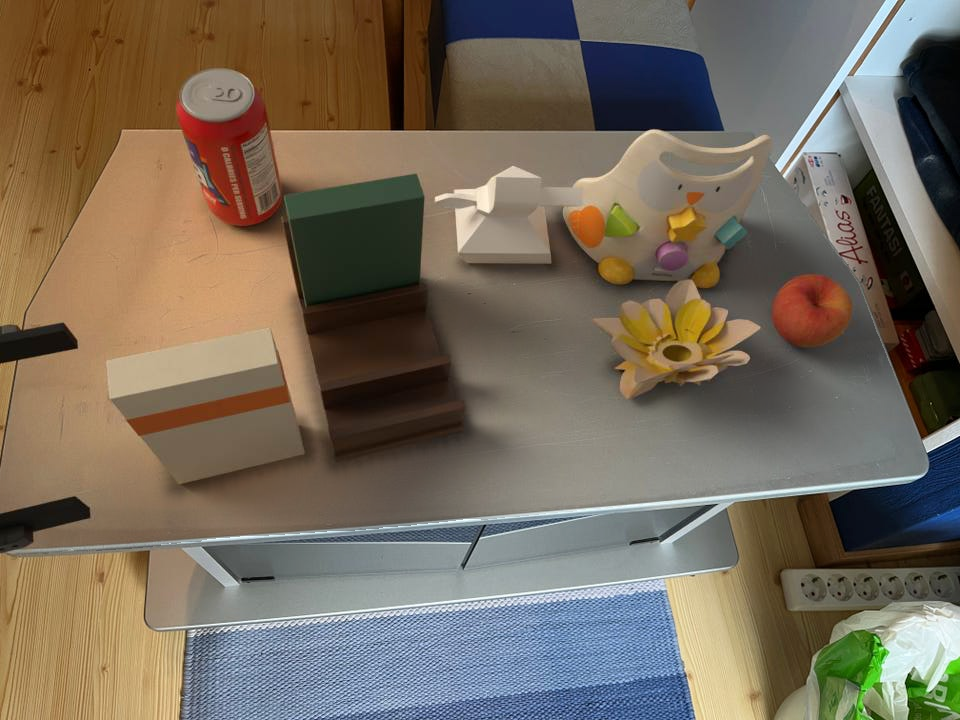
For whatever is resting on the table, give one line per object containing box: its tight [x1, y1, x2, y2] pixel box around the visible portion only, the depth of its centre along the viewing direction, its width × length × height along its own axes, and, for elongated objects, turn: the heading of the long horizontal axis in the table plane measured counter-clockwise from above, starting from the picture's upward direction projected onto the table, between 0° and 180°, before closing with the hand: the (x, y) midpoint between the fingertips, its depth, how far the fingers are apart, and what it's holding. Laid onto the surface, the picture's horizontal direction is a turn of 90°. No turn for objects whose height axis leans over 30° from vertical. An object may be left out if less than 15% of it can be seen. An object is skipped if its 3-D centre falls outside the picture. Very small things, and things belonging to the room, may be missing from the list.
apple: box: [771, 273, 854, 348], centre depth 76 cm, size 7×7×8 cm
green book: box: [283, 173, 426, 307], centre depth 67 cm, size 3×11×16 cm, turn 107°
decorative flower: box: [590, 279, 761, 400], centre depth 72 cm, size 15×11×10 cm
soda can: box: [176, 67, 283, 227], centre depth 73 cm, size 8×8×15 cm
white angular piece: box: [434, 165, 583, 265], centre depth 75 cm, size 8×14×14 cm, turn 94°
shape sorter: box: [562, 129, 774, 289], centre depth 75 cm, size 20×10×18 cm, turn 92°
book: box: [105, 327, 306, 485], centre depth 59 cm, size 3×11×18 cm, turn 107°
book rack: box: [280, 214, 467, 463], centre depth 67 cm, size 18×12×13 cm, turn 17°
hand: (77, 416), depth 53 cm, fingers open, 13 cm apart
